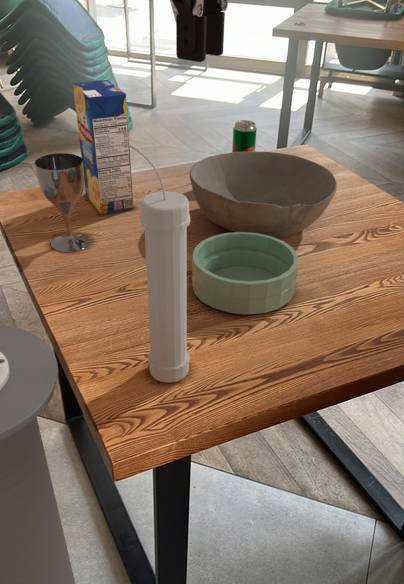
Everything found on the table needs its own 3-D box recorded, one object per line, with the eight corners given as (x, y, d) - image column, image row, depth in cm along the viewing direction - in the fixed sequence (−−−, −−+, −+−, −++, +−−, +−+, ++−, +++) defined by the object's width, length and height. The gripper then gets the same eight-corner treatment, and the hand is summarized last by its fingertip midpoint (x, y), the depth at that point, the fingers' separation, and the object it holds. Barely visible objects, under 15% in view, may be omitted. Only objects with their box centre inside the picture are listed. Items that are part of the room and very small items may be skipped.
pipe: (189, 385, 75) (189, 155, 56) (141, 384, 75) (126, 154, 56) (190, 358, 79) (191, 137, 60) (145, 357, 79) (132, 136, 60)
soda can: (241, 183, 128) (245, 128, 121) (226, 176, 131) (228, 122, 124) (257, 178, 131) (261, 123, 123) (242, 171, 134) (245, 118, 126)
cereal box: (101, 214, 115) (89, 97, 101) (85, 194, 122) (72, 83, 108) (133, 209, 117) (126, 93, 103) (116, 189, 125) (107, 79, 111)
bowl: (190, 255, 102) (190, 202, 96) (188, 193, 124) (188, 146, 117) (342, 255, 103) (353, 202, 97) (314, 193, 125) (321, 146, 118)
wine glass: (63, 229, 109) (51, 150, 100) (100, 237, 107) (91, 157, 97) (39, 248, 103) (24, 165, 94) (78, 256, 101) (66, 173, 92)
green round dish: (224, 328, 85) (226, 294, 81) (175, 277, 96) (174, 244, 92) (314, 300, 91) (320, 267, 87) (258, 255, 102) (260, 224, 99)
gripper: (214, -174, 55) (208, 41, 67) (109, -196, 44) (124, 66, 56) (285, -176, 52) (266, 49, 64) (192, -200, 41) (189, 77, 53)
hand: (200, 55), depth 60 cm, fingers closed
